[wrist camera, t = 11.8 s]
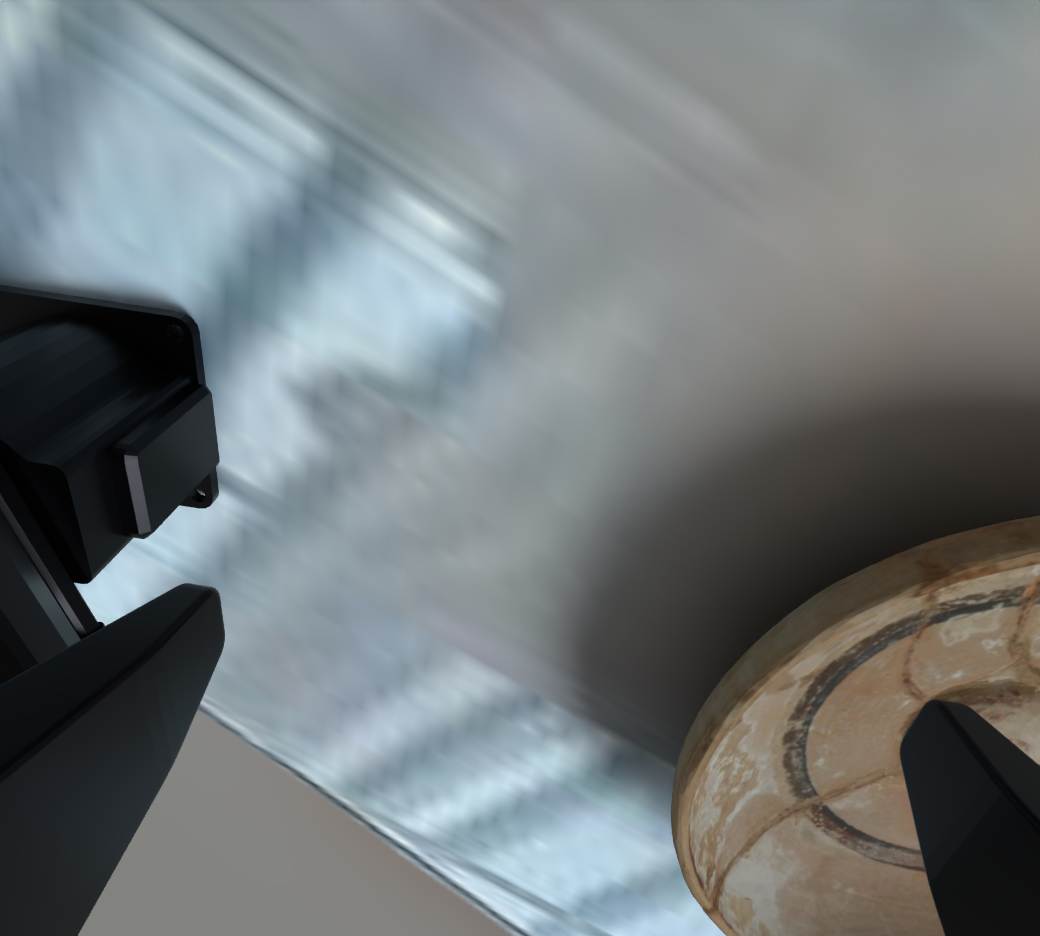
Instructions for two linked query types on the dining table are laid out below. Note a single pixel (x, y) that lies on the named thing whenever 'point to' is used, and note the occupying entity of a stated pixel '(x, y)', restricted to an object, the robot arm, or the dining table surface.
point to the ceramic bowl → (853, 737)
